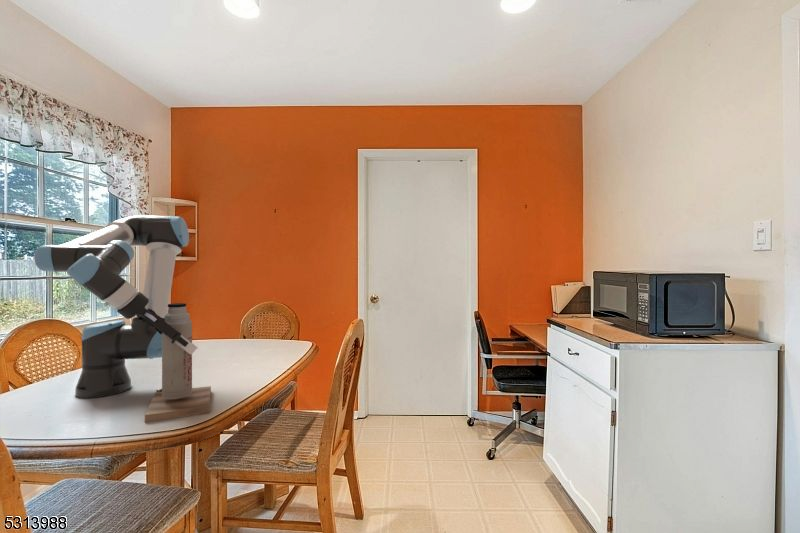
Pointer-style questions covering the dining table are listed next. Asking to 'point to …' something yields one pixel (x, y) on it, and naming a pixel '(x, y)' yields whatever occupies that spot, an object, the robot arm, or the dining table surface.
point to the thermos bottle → (176, 355)
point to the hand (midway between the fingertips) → (189, 348)
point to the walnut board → (179, 405)
